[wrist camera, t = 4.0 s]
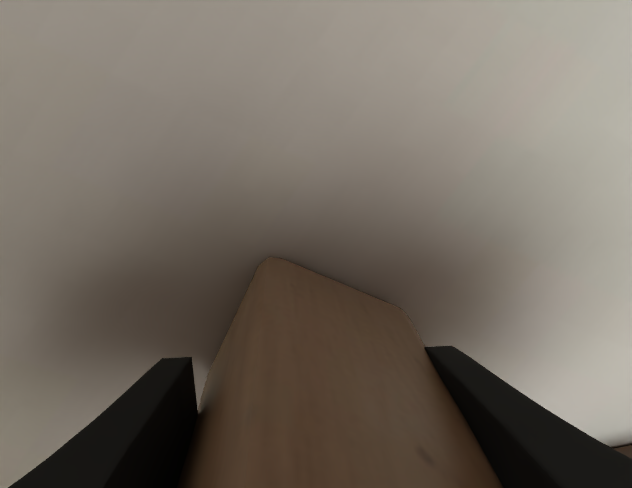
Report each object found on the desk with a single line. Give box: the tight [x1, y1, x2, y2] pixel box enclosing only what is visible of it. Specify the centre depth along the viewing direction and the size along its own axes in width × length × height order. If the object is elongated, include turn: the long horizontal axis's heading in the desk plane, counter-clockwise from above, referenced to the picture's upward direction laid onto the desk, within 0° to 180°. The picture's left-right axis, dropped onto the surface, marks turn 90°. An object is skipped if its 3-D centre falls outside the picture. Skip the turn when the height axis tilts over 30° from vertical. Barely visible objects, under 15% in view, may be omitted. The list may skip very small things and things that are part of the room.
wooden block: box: [177, 257, 503, 488], centre depth 8 cm, size 4×4×8 cm
